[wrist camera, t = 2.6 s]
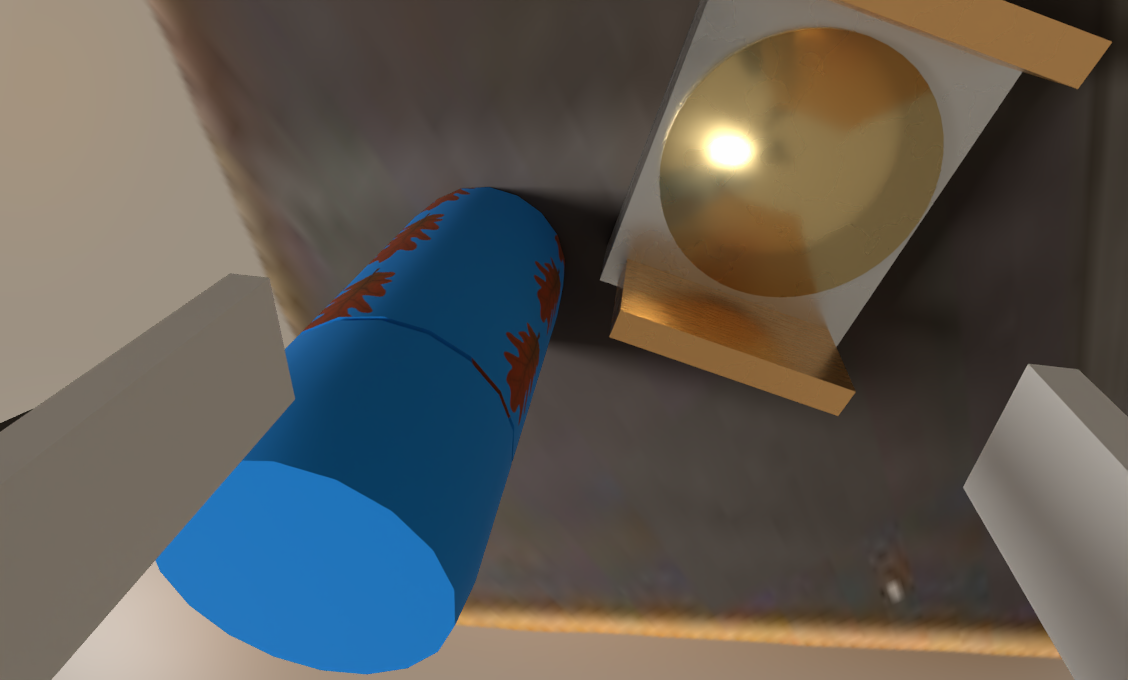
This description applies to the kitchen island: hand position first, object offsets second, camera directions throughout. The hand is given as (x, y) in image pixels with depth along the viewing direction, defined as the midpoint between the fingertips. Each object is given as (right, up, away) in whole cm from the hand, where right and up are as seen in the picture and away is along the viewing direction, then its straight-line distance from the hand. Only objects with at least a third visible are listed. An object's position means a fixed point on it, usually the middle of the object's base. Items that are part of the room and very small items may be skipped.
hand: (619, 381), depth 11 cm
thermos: (-6, +6, +30) cm, 31 cm away
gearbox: (+11, +12, +24) cm, 29 cm away
